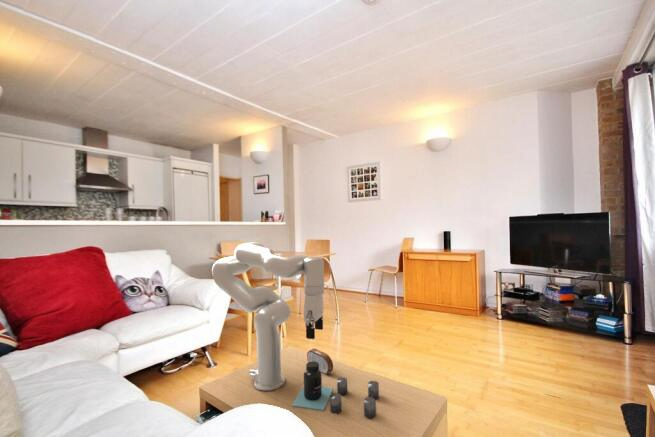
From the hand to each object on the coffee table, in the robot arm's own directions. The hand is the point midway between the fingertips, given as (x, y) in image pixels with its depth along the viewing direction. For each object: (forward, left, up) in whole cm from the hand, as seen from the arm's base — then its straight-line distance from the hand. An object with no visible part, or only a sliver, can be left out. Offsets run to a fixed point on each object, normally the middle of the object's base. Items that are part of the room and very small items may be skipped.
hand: (314, 333), depth 118 cm
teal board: (0, -2, -23) cm, 24 cm away
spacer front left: (+10, -8, -23) cm, 26 cm away
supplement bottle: (-1, -2, -23) cm, 23 cm away
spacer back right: (+22, +3, -23) cm, 32 cm away
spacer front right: (+22, -8, -23) cm, 33 cm away
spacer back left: (+10, +3, -23) cm, 26 cm away
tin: (-4, +18, -24) cm, 30 cm away
